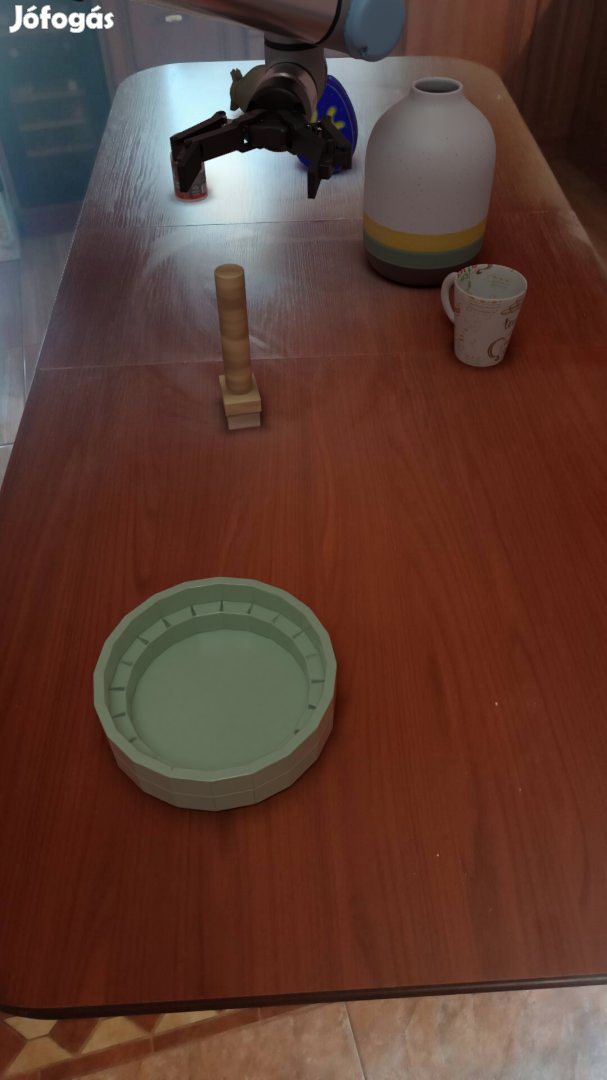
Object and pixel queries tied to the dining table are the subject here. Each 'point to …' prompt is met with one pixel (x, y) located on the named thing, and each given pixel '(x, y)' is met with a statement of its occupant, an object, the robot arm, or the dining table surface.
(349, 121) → the ornament
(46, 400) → the dining table surface
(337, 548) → the dining table surface
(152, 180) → the dining table surface
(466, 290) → the mug
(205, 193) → the pill bottle
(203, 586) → the bowl
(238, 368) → the brush
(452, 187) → the vase
